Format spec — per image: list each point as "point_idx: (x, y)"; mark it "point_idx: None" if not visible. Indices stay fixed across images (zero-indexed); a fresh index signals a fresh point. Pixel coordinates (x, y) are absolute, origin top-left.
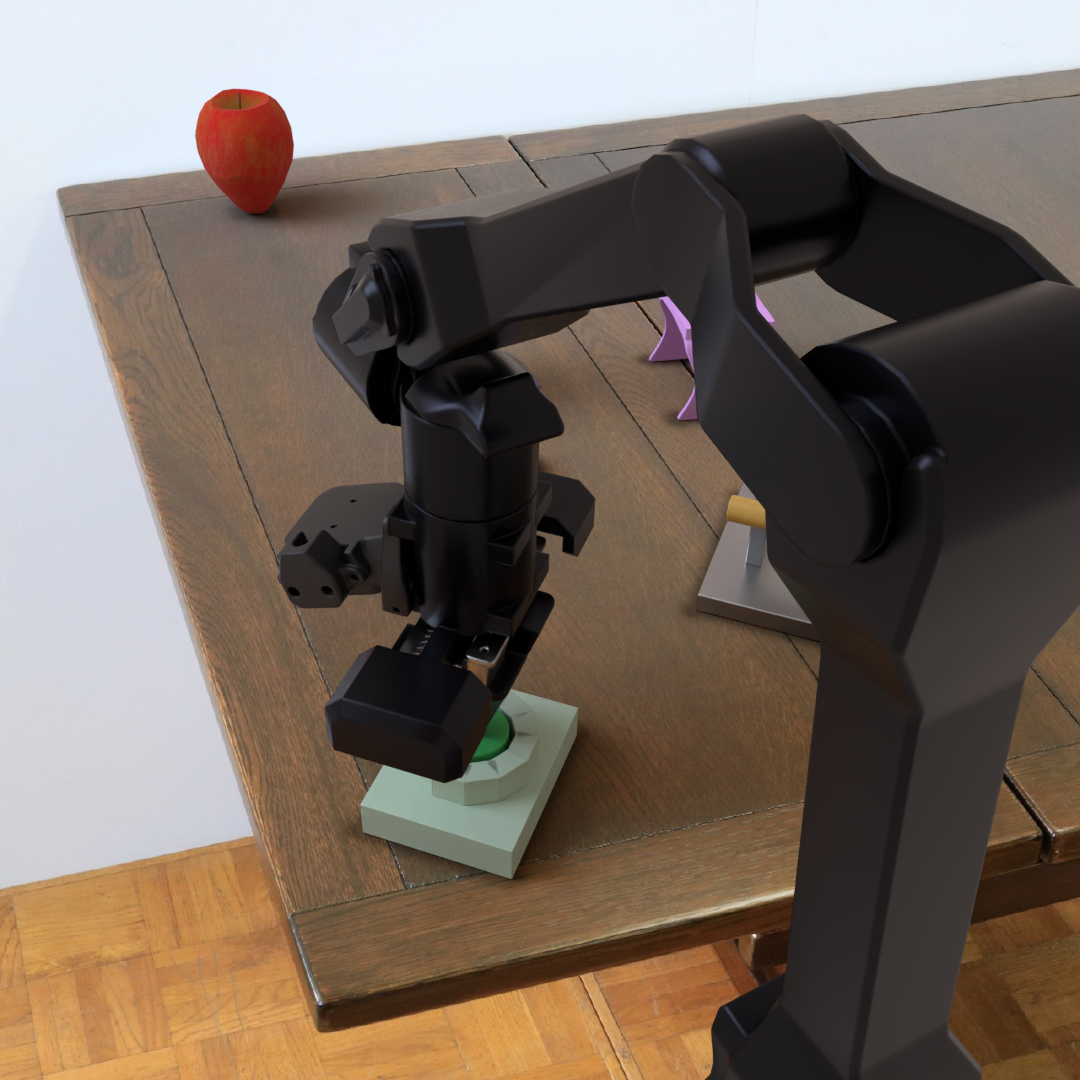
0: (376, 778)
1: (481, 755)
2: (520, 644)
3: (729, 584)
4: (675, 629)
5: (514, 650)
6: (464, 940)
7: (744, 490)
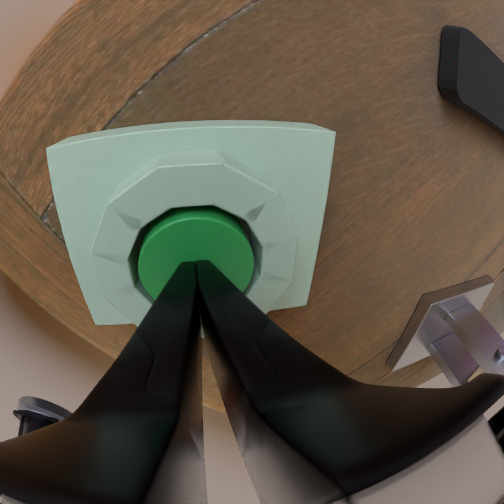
0: (90, 141)
1: (154, 299)
2: (258, 491)
3: (435, 315)
4: (408, 291)
5: (252, 475)
6: (38, 284)
7: (490, 285)
